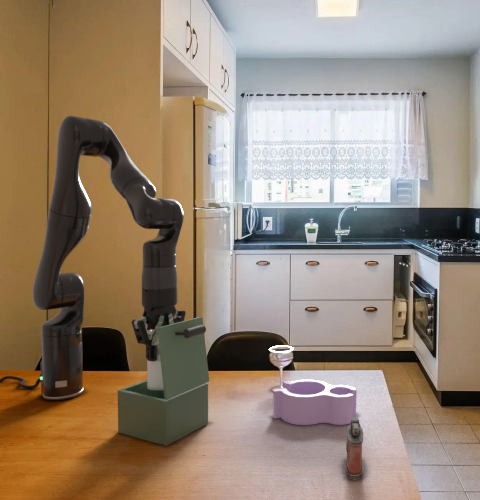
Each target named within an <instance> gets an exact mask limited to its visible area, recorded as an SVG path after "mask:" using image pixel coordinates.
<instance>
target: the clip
mask: <svg viewBox="0 0 480 500" xmlns="http://www.w3.org/2000/svg"><path fill="white" fill-rule="evenodd" d="M282 387H283V388H281V389H274V390H273V391H272V392H273V395H272V397H273V399H272V401H273V402H272V403H273V404H272V405H273V406H272V418H273V419H281V420H283V421H284V422H285V423H288V424H291V425H298V426H310V425H311V426H312V425H316V424H322V423H323V424H324V423H327V424H330V425H336V426H343V425H344V426H345V425H351V419H352V417H357V388H356V387H354V386H351V385H347V384H346V385H345V384H331V383H327V382H326V381H322V380H318V379H297V380H292V381H289V380H282Z"/></svg>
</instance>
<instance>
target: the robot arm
mask: <svg viewBox="0 0 480 500" xmlns="http://www.w3.org/2000/svg"><path fill="white" fill-rule="evenodd" d="M81 156H83V157H93V158H98V157H99V158H101V159H102V160H104V161H105V162H106V163H107V164H109V173H108V175H109V180H110V183H111V185H112V187H113V188H114V190H116V192H117V193H118V194H119V195H120V196H121V197H122V199H124V201H126V204H127V207H128V209H129V211H130V214H131V216H132V219H133V221H134V222H135V223H136V224H137V225H138V226H139V227H141V228H143V229H144V230H145V229H146V230H158V231H157V234H156V237H154V238H152V239H151V238H150V239H148V240H146V241H144V243H143V244H142V270H141V306H142V308H143V313H142V316H141V317H139V318H138V319H132V321H131V326H132V328H133V333H134V334H135V335H134V336H135V339H136V342H137V344H139V345H145V358H146V360H148V361H152V362H153V361H156V360H157V345H155V344H156V343H157V342H158V333H157V328H158V327H162V326H166V325H170V324H174V323H178V322H182V321H185V318H186V314H187V311H185V310H182V309H181V310H180V309H177V308H176V305H177V304H178V272H177V245H178V242H179V238H180V234H181V231H182V228H183V225H184V218H185V217H184V216H185V215H184V210H183V208H182V205H181V203H180V202H179V201H178V200H176V199H173V198H161V197H156V196H157V190H156V187H155V185H154V184H153V183H152V181H151V180H150V179H149V178H147V176H146V175H145V174H144V173H143V172H142V171H141V170H140V169H139V167H137V165H136V164H135V163H134V161H133V160H132V159H131V157H130V156H129V153H127V151H126V149H125V147H124V146H123V144H122V143H121V141H120V139H119V138H118V136H117V134H116V133H115V132H114V130H113V129H112V127H111V126H109V124H108V123H106V122H104V121H102V120H100V119H95V118H94V119H93V118H88V117H83V116H77V115H67V116H65V117H64V118H63V119H62V121H61V122H60V125H59V128H58V134H57V144H56V157H55V158H56V159H55V173H54V180H53V181H54V182H53V187H52V193H51V200H50V202H49V208H48V212H47V219H46V227H45V235H44V240H43V245H42V251H41V255H40V258H39V262H38V266H37V269H36V272H35V276H34V278H33V284H32V291H31V292H32V295H31V296H32V303H33V305H34V306H35V307H36V308H37V309H39V310H43V311H50V310H58V309H60V310H59V312H57V313H56V315H54V316H53V317H51V318H50V319H48V320H46V321H44V322H43V323H42V324H41V326H40V333H41V361H40V373H39V378H37V379H36V382H35V384H33V385H28V384H25V383H26V379H25V378H22V377H19V376H14V375H5V376H2V377H1V378H0V383H2V382H3V381H5V380H14V381H18V382H19V383H18V386H19V387H20V388H23V389H27V390H28V389H29V390H32V389H33V390H34V389H36V388H38V386H39V385H40V388H41V389H40V392H41V394H40V395H41V396H42V399H43V400H46V401H63V400H64V401H65V400H68V399H69V400H70V399H73V398H76V397H79V396H80V395H82V394H83V393H84V390H85V389H84V369H83V368H84V367H83V366H84V365H83V364H84V362H83V361H84V360H83V323H84V319H85V295H86V294H85V290H86V289H85V284H84V283H85V282H84V281H83V278H82V277H81V275H80V274H79V273H76V272H61V270H62V268H63V265H64V263H65V261H67V260H66V259H67V258H68V257H69V256H70V255H71V254H72V252H74V250H75V249H76V248H77V247H78V246H79V245H80V243H81V242H82V241H83V240H84V238H85V236H86V235H87V233H88V232H89V227H90V223H91V218H92V214H93V213H92V211H93V207H92V202H91V200H90V197H89V195H88V193H87V190H86V189H85V187H84V185H83V183H82V180H81V178H80V173H79V172H80V171H79V170H80V160H81Z"/></svg>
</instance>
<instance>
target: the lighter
mask: <svg viewBox="0 0 480 500" xmlns="http://www.w3.org/2000/svg"><path fill="white" fill-rule="evenodd" d="M345 434H346V435H345V437H346V440H345V442H346V443H345V451H346V459H345V473H346V476H347V478H348V479H350V480H355V481H356V480H359V479H361V478H362V475H363V461H362V460H363V459H362V458H363V442H364V430H363V427H362V426H361V423H360V419H359V418H358V416H355V417H352V419H351V423H350V424H348V425H347V428H346V433H345Z"/></svg>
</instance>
